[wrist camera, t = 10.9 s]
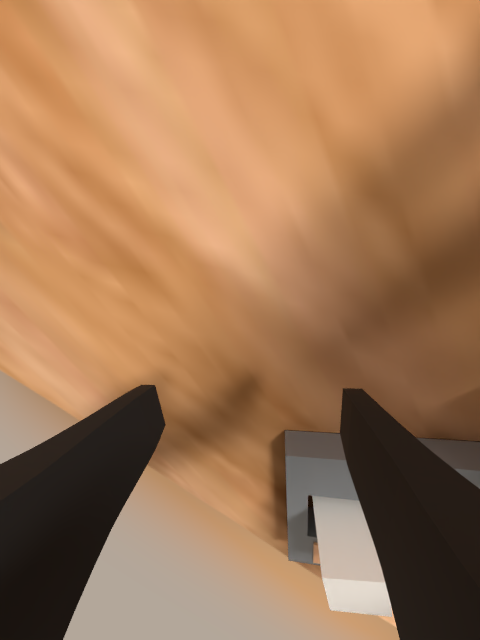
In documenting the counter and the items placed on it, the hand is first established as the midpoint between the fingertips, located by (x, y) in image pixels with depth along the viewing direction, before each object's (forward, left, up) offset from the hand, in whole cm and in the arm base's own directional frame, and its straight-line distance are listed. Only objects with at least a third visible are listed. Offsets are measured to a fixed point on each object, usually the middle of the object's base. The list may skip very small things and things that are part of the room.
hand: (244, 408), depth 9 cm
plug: (-6, +17, -9) cm, 20 cm away
